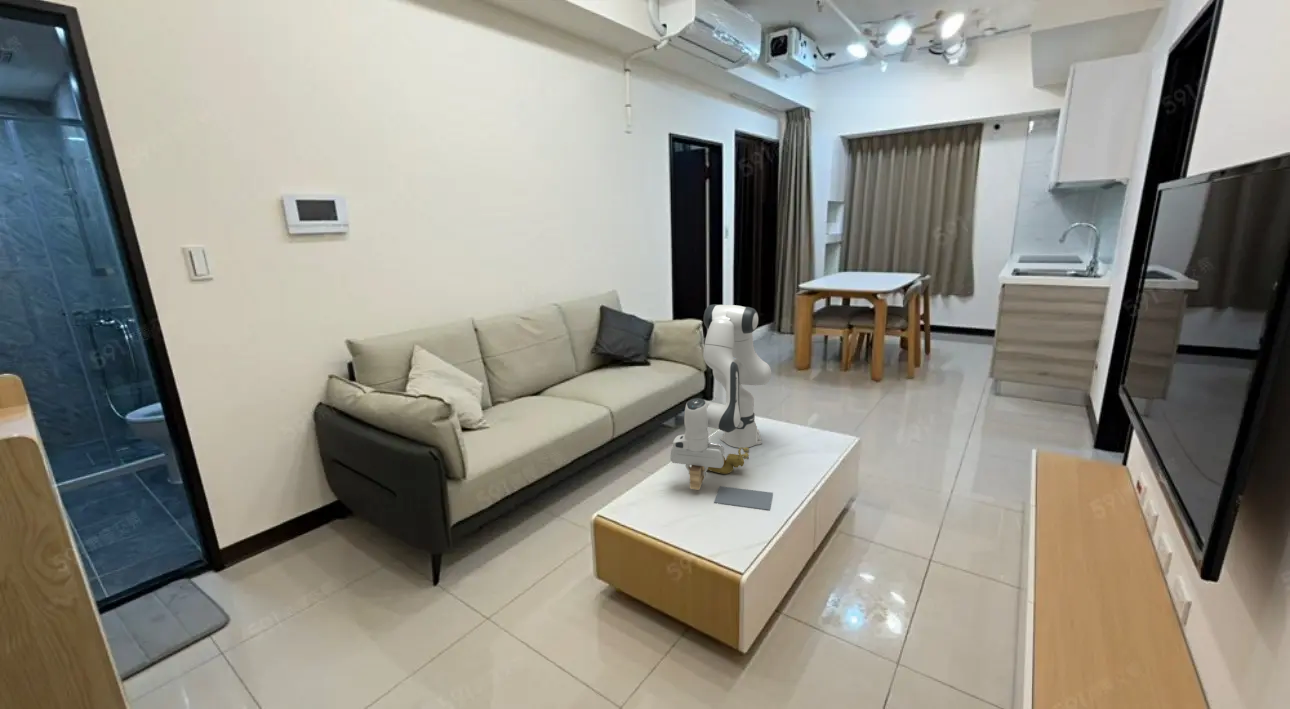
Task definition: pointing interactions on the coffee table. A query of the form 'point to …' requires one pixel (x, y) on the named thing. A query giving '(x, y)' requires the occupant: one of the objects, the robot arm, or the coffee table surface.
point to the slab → (696, 477)
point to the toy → (732, 462)
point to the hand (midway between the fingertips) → (697, 474)
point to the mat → (744, 498)
